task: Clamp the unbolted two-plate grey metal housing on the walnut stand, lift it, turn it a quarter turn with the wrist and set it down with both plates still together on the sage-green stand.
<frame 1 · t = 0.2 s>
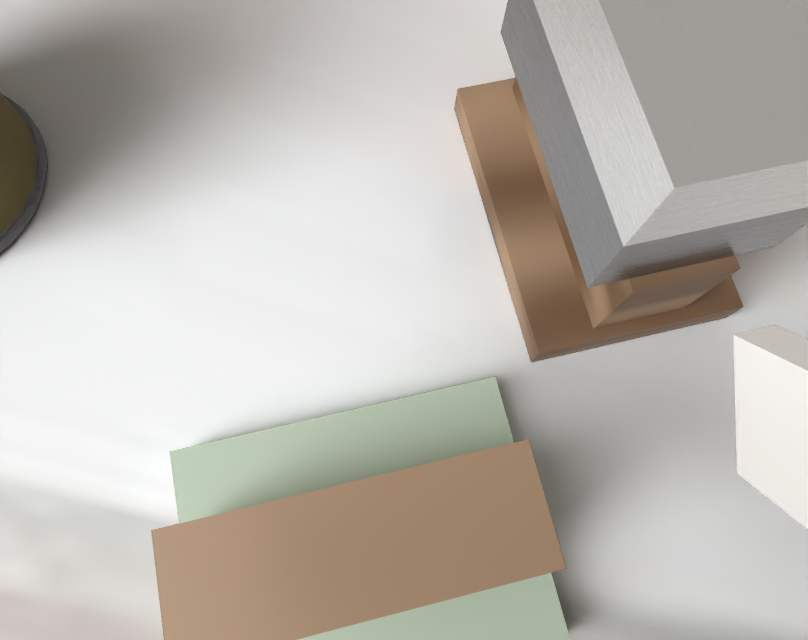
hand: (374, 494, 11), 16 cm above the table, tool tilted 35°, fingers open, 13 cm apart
base plate: (630, 134, 24), point 6 cm above the table, touching cover plate, stand a
cover plate: (669, 71, 21), point 9 cm above the table, touching base plate
stand a: (583, 208, 30), on the table
stand b: (365, 542, 25), on the table
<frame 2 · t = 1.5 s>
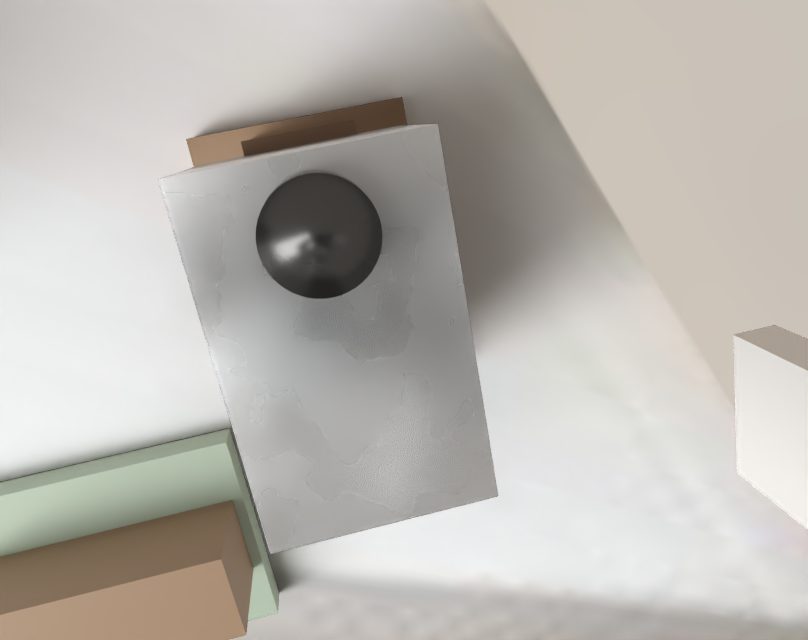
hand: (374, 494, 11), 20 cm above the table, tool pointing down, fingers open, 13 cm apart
base plate: (335, 293, 24), point 6 cm above the table, touching cover plate, stand a
cover plate: (340, 319, 21), point 9 cm above the table, touching base plate
stand a: (328, 262, 30), on the table
stand b: (127, 546, 32), on the table
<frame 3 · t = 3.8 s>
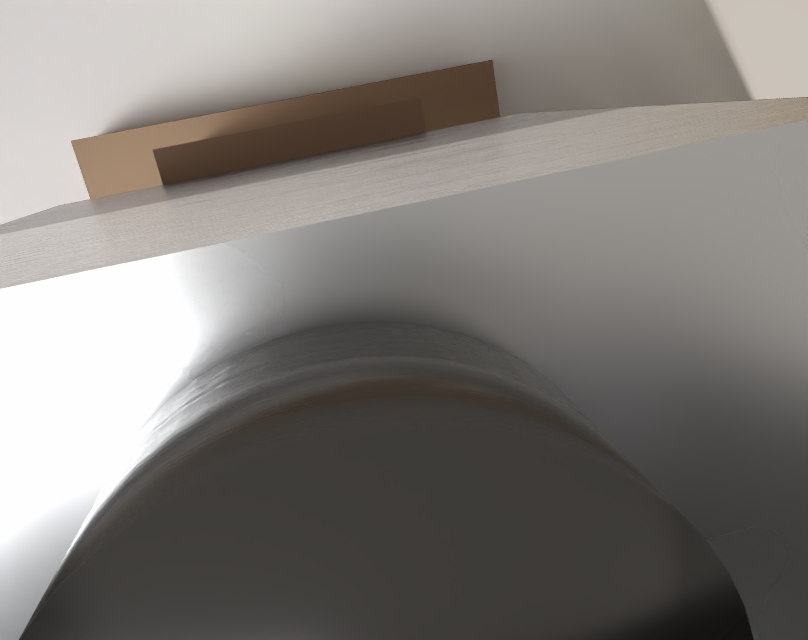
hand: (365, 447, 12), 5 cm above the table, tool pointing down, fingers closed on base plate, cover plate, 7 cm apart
base plate: (370, 473, 11), point 6 cm above the table, touching cover plate, gripper, stand a
cover plate: (397, 616, 8), point 9 cm above the table, touching base plate, gripper
stand a: (347, 356, 17), on the table
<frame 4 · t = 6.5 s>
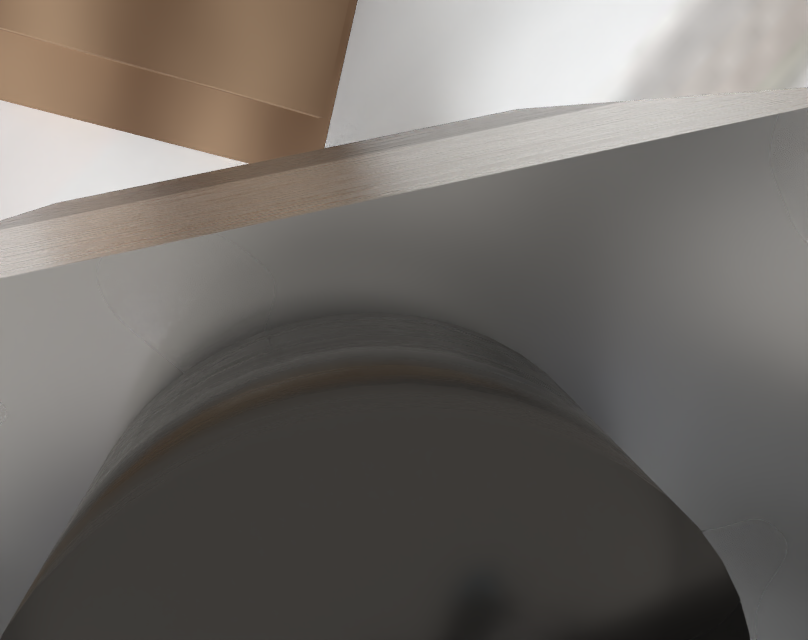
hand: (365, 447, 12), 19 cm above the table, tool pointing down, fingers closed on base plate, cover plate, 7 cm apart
base plate: (368, 470, 11), point 20 cm above the table, touching cover plate, gripper
cover plate: (396, 613, 8), point 23 cm above the table, touching base plate, gripper
stand a: (183, 28, 26), on the table
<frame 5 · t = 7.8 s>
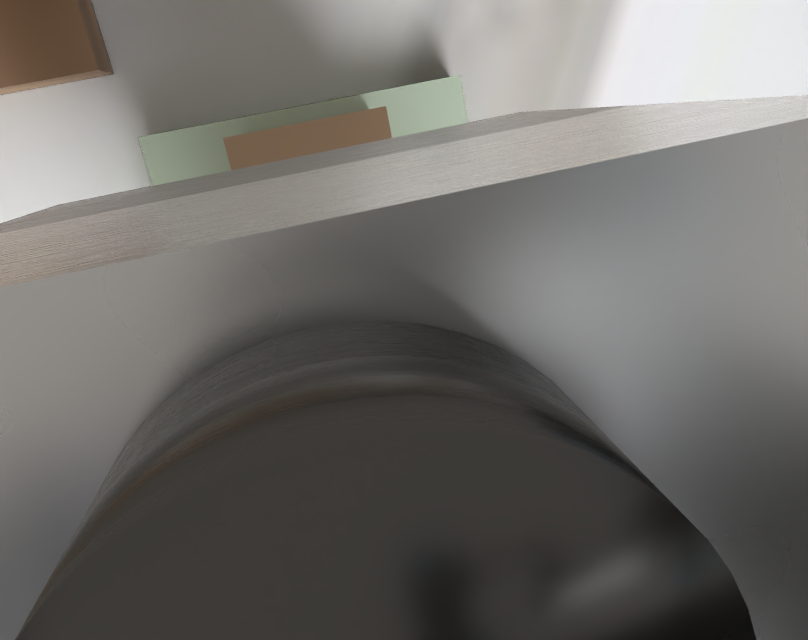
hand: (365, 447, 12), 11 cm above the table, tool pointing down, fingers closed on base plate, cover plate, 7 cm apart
base plate: (369, 473, 11), point 12 cm above the table, touching cover plate, gripper
cover plate: (397, 617, 8), point 16 cm above the table, touching base plate, gripper
stand b: (344, 294, 23), on the table
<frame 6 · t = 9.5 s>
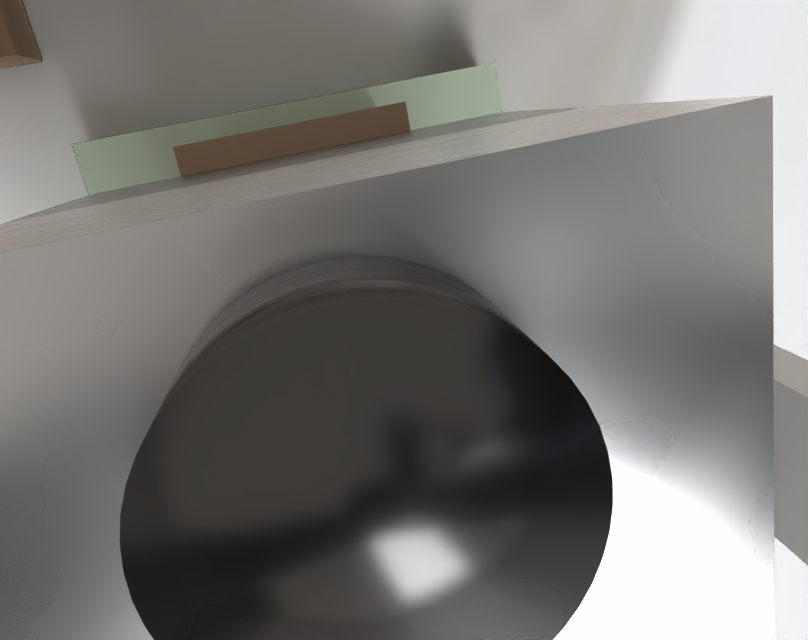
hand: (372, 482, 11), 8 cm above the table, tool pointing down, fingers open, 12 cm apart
base plate: (366, 432, 13), point 6 cm above the table, touching cover plate, stand b
cover plate: (389, 540, 9), point 9 cm above the table, touching base plate
stand b: (344, 339, 18), on the table
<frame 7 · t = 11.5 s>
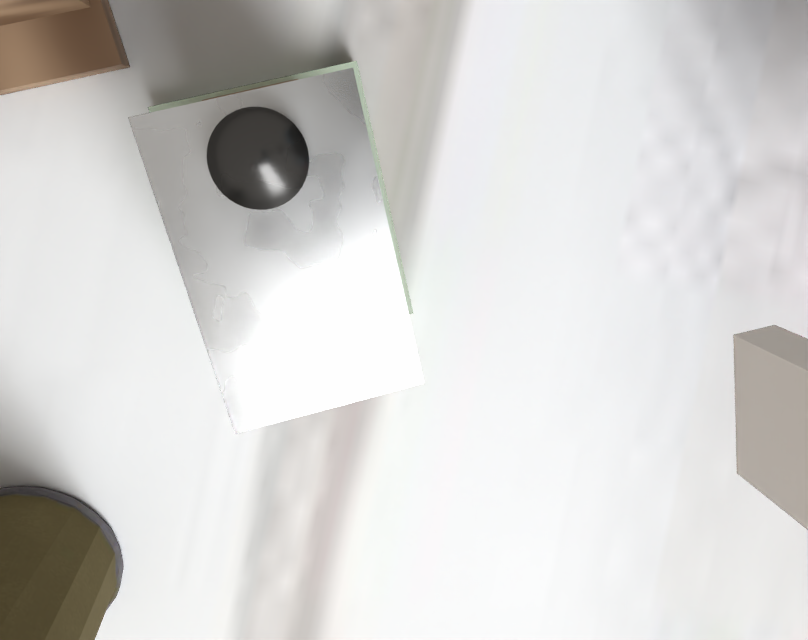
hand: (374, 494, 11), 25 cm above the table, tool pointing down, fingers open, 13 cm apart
canister: (26, 565, 37), on the table
cover plate: (291, 244, 25), point 9 cm above the table, touching base plate
stand b: (290, 214, 34), on the table
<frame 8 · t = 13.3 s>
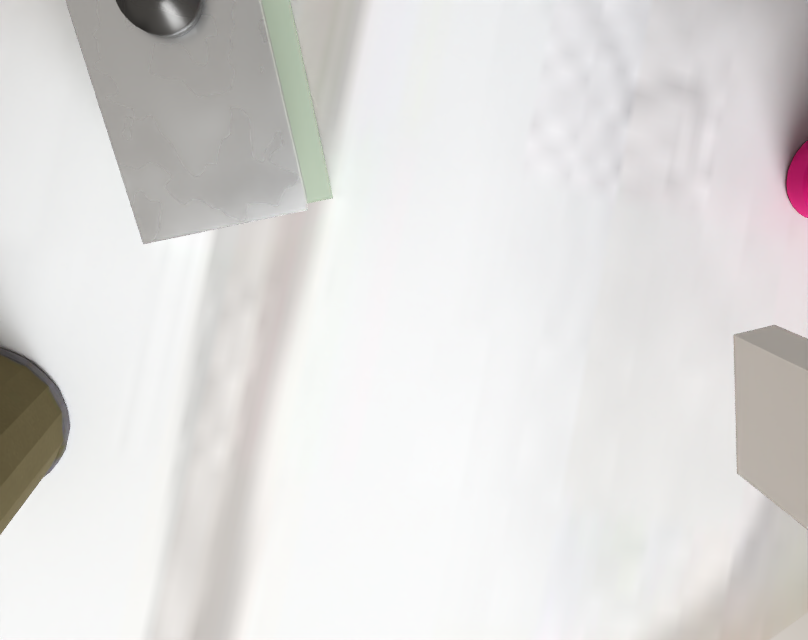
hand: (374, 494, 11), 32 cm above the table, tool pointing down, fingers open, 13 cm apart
cover plate: (202, 95, 29), point 9 cm above the table, touching base plate
stand b: (224, 103, 38), on the table
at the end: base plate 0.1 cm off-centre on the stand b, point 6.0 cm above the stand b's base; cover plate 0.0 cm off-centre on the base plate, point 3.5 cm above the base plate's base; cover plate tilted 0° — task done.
